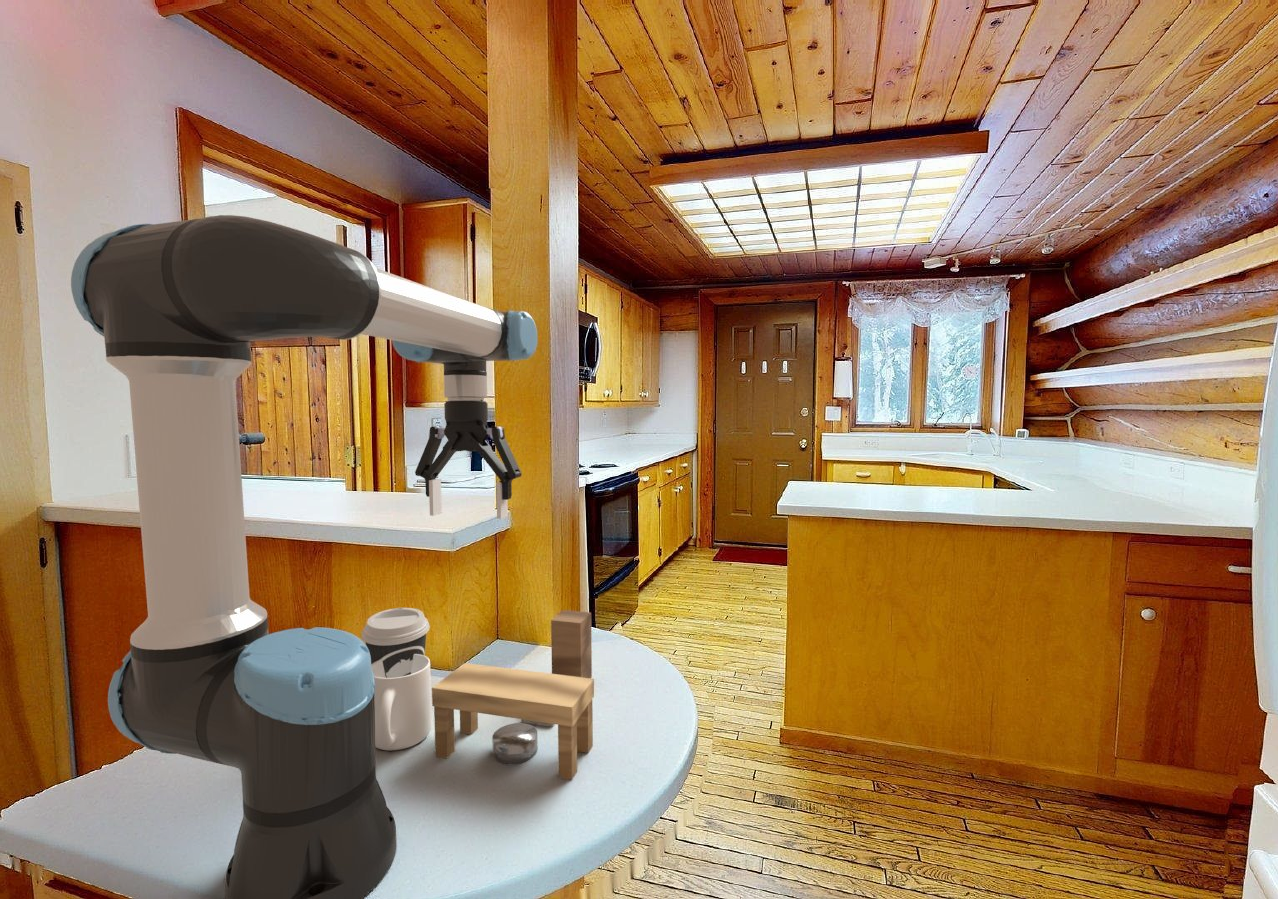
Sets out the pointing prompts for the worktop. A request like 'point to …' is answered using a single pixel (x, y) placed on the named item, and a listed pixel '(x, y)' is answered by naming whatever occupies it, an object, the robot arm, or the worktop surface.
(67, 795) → the worktop surface
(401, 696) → the mug
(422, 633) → the coffee cup
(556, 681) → the riser
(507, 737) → the token
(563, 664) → the brown l-shaped block
